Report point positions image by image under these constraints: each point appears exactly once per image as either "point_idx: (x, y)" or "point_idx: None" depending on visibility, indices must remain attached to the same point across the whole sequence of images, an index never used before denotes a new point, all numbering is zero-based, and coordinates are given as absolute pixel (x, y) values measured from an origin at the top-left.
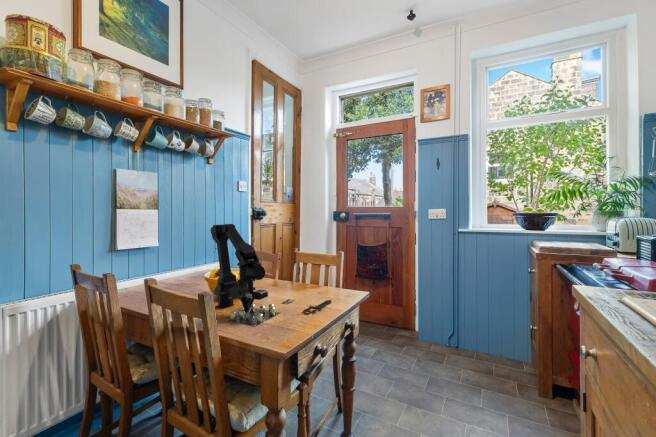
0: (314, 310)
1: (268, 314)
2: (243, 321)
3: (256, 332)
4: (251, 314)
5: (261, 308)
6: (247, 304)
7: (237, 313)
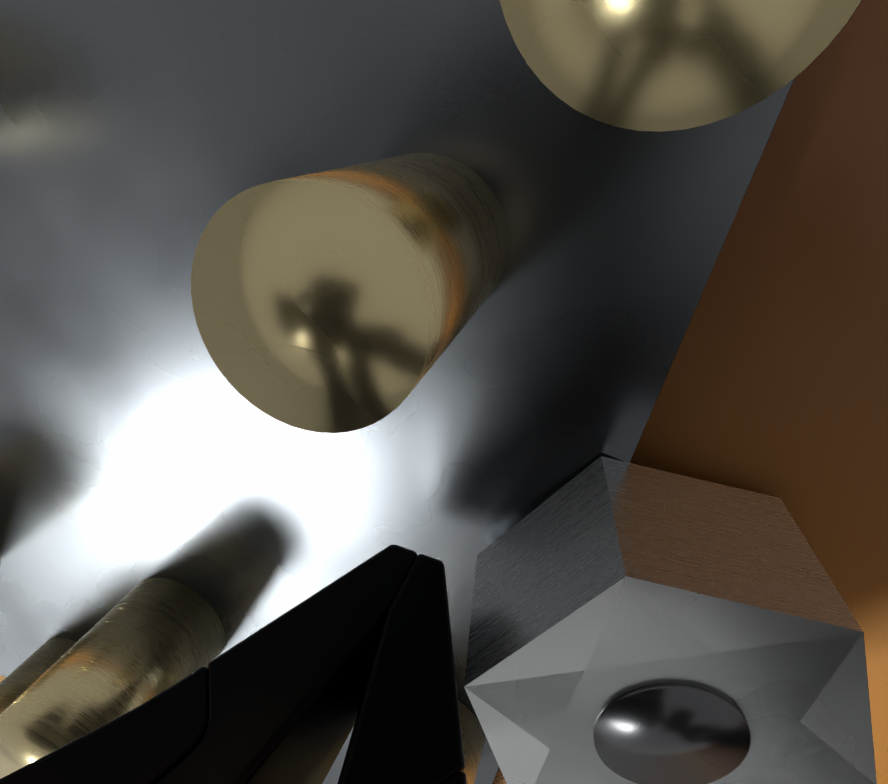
0: None
1: (43, 568)
2: (253, 4)
3: None
4: (352, 567)
5: (59, 680)
6: (141, 718)
7: (701, 521)
